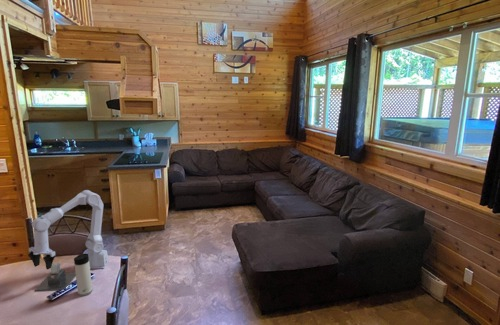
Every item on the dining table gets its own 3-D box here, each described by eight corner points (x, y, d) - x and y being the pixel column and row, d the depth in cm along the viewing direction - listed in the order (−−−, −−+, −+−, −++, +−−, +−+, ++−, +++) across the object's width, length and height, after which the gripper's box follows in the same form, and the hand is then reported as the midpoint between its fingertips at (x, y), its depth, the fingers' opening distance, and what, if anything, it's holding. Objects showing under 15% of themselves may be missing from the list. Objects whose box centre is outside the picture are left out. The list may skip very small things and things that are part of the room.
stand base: (77, 273, 165) (76, 264, 164) (65, 289, 151) (63, 279, 150) (50, 274, 163) (48, 265, 162) (35, 291, 150) (33, 281, 149)
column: (61, 278, 159) (59, 262, 157) (58, 281, 156) (56, 265, 154) (55, 278, 159) (53, 262, 157) (52, 282, 156) (49, 265, 154)
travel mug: (86, 297, 146) (82, 259, 142) (75, 295, 147) (70, 258, 143) (95, 289, 152) (91, 253, 148) (84, 287, 153) (80, 251, 149)
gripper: (22, 242, 148) (24, 268, 150) (45, 247, 144) (47, 273, 147) (35, 236, 155) (37, 261, 157) (58, 241, 151) (59, 266, 153)
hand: (42, 267), depth 152 cm, fingers open, 7 cm apart
